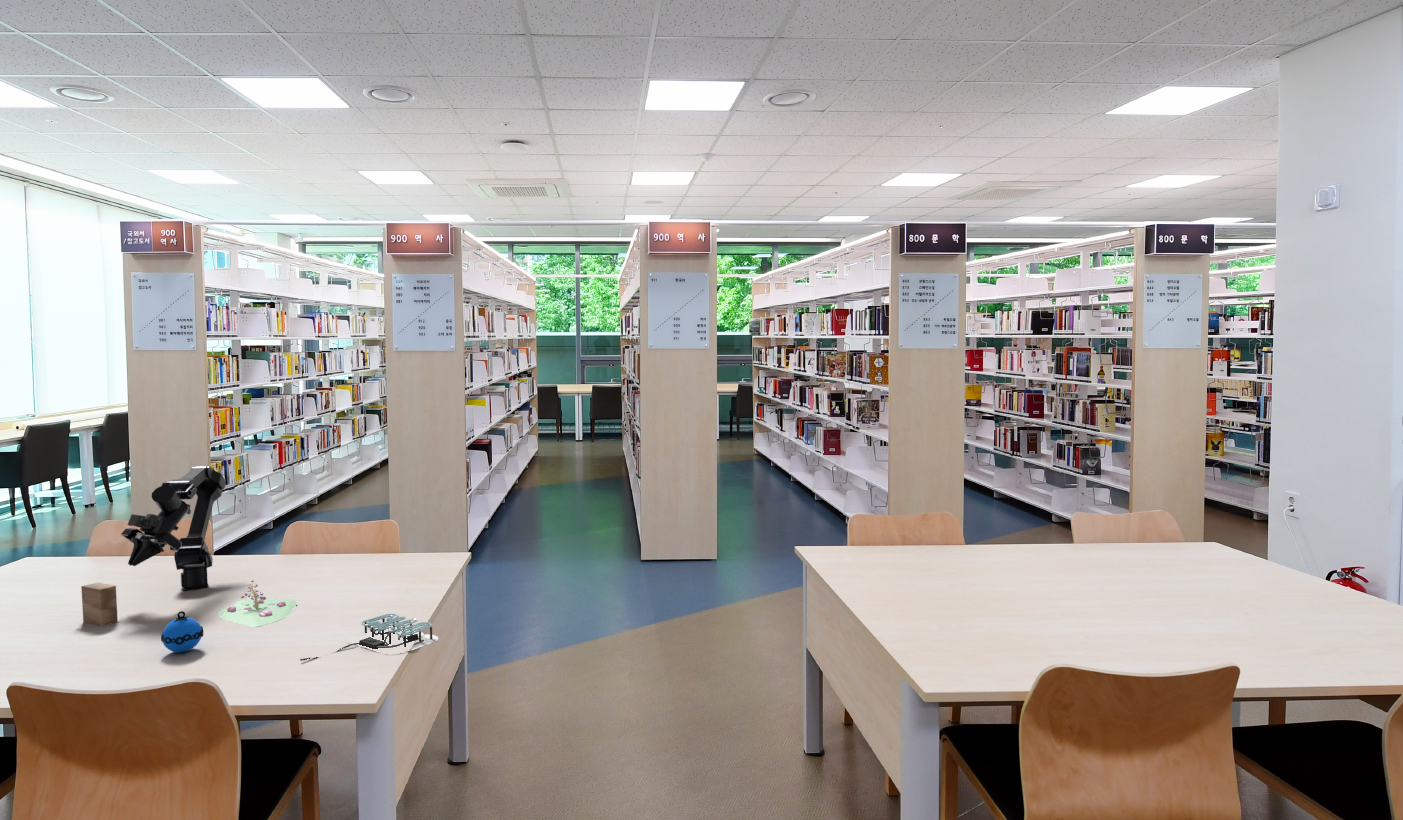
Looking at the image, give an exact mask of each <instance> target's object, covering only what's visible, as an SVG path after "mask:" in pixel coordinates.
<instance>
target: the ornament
mask: <svg viewBox="0 0 1403 820" xmlns="http://www.w3.org/2000/svg"><path fill="white" fill-rule="evenodd" d="M181 614H182V615H181ZM176 616H177V617H176V618H174V619H173V620H171V621H169V622H168V623H167V624H166V626H165V627H164V629H163V630H162V633H160V634H161V635H160V641H161V642H162V644H163V645H164V647H165V648H166V649H168V650H169V651H171V652H173V653H179V654H181V653H186V652H188V651H191V650H192V649H194V648H195V647H196V646H197V645H199V643H200V641H201V640H202V637H204V629H203V628H204V626H203V625H201V624H200V623H199V621H198V620H196V619H195V618H193V617H189V616H186V612H185V611H182V610H181V611H179V612H177V615H176Z"/></svg>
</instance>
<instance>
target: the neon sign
mask: <svg viewBox="0 0 1403 820" xmlns="http://www.w3.org/2000/svg"><path fill="white" fill-rule="evenodd" d="M385 619H386V620H385ZM406 619H407V617H406V616H400V615H398V614H397V613H385V614H382V615H379V616H375V617H372V618H368V619H365V620H363V621H361V622H360V625H361V626H364V632H365V633H367V631H368V629H369V631H370V632H372V637H374V634H375V635H378V634H380V635H382V640H384V634H387V636H386V637H385V640H384V642H383V641H380V640H377V639H373V638H371V637H368V638H365V639H362V640H359V643H352V644H347V645H345V646H342V647H341V648H342V650H344V649H347V648H349V647H351V646H357V644H359V645H362V646H366V647H369V648H372V649H378V648H393V647H397V646H400V645H403V644H404V647H406V643H409V642H412V641H416V642H415V643H414V645H413V647H412V649H411V650H410V652H412V651H415V650H417V649H421V648H423V647H427V646H428V645H431V644H434V643H436V642H437V641H439V636H438V635H435V634H433V624H432V623H431V622H427V621H422V622H418V620H419V619H417V618H411V619H407V620H406ZM379 620H381V621H382V622H381V621H379ZM417 622H418V623H417ZM428 625H429V626H428ZM389 626H393V627H389ZM401 626H402V627H401ZM395 627H397V629H395ZM376 628H378V629H376ZM389 628H391V629H389ZM401 628H402V629H401ZM386 629H388V632H385V633H384V630H386ZM406 629H407V630H406ZM427 629H429V634H428V633H427V634H425V633H424V632H422V631H425V630H427ZM402 630H403V631H402ZM409 630H410V631H409ZM376 631H378V633H375V632H376ZM381 631H382V633H381ZM400 631H402V633H401V635H400V634H399V633H398V632H400ZM407 631H408V632H407ZM414 631H415V632H414ZM395 632H396V634H397V635H398V640H400V638H401V637H402V638H403V641H404V642H403V643H400V644H397V645H392V646H388V645H389V644H391V633H393V634H395ZM417 632H419V636H418V634H414V633H417ZM413 634H414V635H413ZM406 635H410V636H407V638H406ZM388 636H389V644H388V643H387V642H386V639H387V637H388ZM406 639H407V640H408V641H406ZM385 643H386V644H385ZM341 648H339V649H341ZM343 648H344V649H343ZM310 658H311V657H306V658H299V661H308V660H307V659H309V660H311V659H310Z"/></svg>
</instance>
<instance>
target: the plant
mask: <svg viewBox="0 0 1403 820" xmlns="http://www.w3.org/2000/svg"><path fill="white" fill-rule="evenodd" d="M254 582H255V581H254V580H251V584H247V585H246V586H248V587H247V589H248V591H247V592H248V593H249V592H251V593H249V594H248V593H244V595H243V596H241V597H240V598H241V599H240V600H238V601H235V602H234V603H232V604H230V605H228V606H227V607H225V608H223V609H222V610H220V611H219V612H218V614H217V618H221V619H223V620H226V621H228V622H230V623H235V624H239V625H243V626H246V627H250V628H251V627H252V628H257V627H263V626H267V625H270V624H273V623H276V622H279V621H282V620H284V619H286V618H288V616H289V615H290V614H291V613H292V612H293V611H294V610H295V608H296V607H297V606H296V603H297V602H296V600H294V599H290V598H289V599H287V598H286V599H285V598H266V596H264V593H262V592H261V591H260V592H259V590H256V589H253V588H257V587H258V586H259V585H258V584H257V583H255V586H254V585H252V583H254ZM259 593H260V595H259ZM245 597H246V598H245ZM250 597H251V598H250ZM244 598H245V599H244ZM295 606H296V607H295ZM294 607H295V608H294ZM292 608H294V609H292ZM292 610H293V611H292ZM290 612H291V613H290Z"/></svg>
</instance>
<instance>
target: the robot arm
mask: <svg viewBox="0 0 1403 820" xmlns="http://www.w3.org/2000/svg"><path fill="white" fill-rule="evenodd" d="M225 488H226V479H225V478H224V475H223V474H222V473H221V472H219V471H217V470H215V469H213V468H212V467H211V466H209V465H194V466H192V467H191V470H189V471H188V472H187V473H185V474H184V475H183V476H182V477H180V478H177V479H171V480H168V481H167V482H162V483H161V486H158V487H156V488H155V489H154V490H153V491H152V492H151V499H152V500H153V502H154V503H155V505H156V506H157V507H158V509H159V510H160V511H159V513H158V514H154V513H147V514H146V515H139V514H133V513H132V514H131V515H130V517H129V520H128V522H127V526H128V527H127V528H125V529H124V530H123V531H122V533H120V535H121V537H123V538H124V539H126V540H128V541H129V542H130V543H132V544H133V548H132V551H131V554H130V557H129V559H128V562H127V564H128V566H131V567H132V566H133V567H136V566H138V565H140V564H141V563H143V562H145V561H147V560H148V559H150V558H152V557H154V556H157V555H158V554H160V553H164V552H165V549H164V548H165V546H169V550H170V552H171V551H172V552H174V563H175V567H176V570H177V571H180V570H182V572H180V586H181V588H183V591H191V590H197V589H198V590H199V589H203V588H209V587H210V586H209V585H210V584H209V582H208V568H212V567H213V556H212V555H211V554H212V553H210V551H209V547H208V545H207V543H206V541H205V539H206V535H207V531H208V527H209V522H210V519H211V515H212V510H213V506H214V502H216V501H217V500H218V499H219V498H221V496H222V494H223V491H224V490H225ZM195 495H196V497H197V498H196V503H195V506H194V510H193V513H192V512H191V511H192V510H191V504H189V503H186V501H187V500H189V501H190V500H193V498H194V496H195ZM185 500H186V501H185ZM191 513H192V514H193V515H192V518H191V522H190V525H189V530H188V534H187V536H186V537H180V539H179V538H177V537H176V536H175V535H173V534H172V532H173V531H178V529H180V528H179V526H178V525H179V523H180V522H181V521H182V519H183V518H184V517H185V515H191ZM133 526H134V527H137V528H134V527H133ZM132 527H133V528H132ZM138 528H139V529H138Z"/></svg>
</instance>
